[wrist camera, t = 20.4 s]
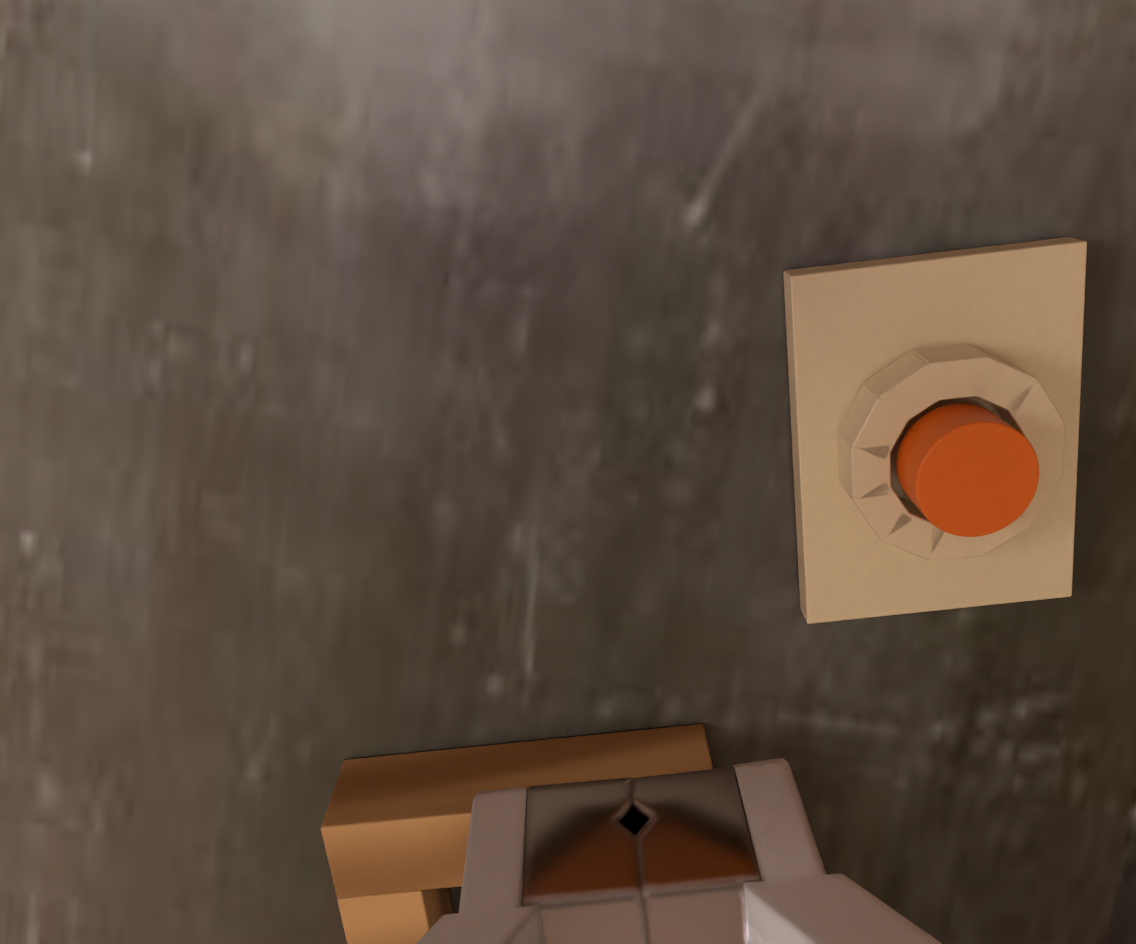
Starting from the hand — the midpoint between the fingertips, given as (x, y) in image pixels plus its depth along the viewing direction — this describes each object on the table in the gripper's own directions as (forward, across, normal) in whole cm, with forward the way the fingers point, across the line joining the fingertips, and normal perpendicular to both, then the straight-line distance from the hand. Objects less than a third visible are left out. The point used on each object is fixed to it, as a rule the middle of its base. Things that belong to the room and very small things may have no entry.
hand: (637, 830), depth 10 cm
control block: (+25, -11, +6) cm, 28 cm away
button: (+22, -11, +6) cm, 25 cm away
